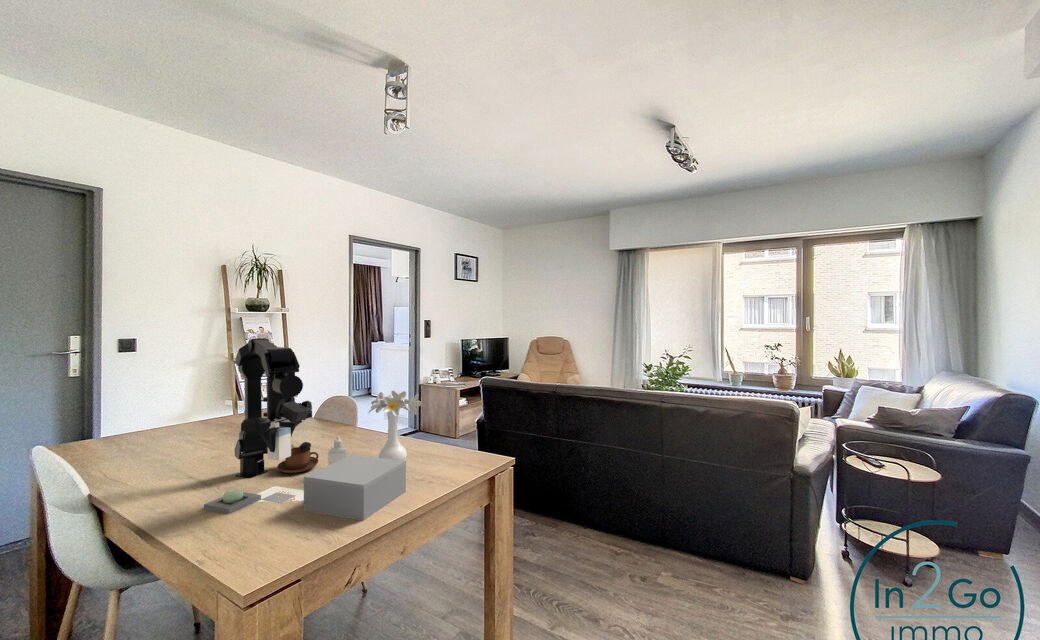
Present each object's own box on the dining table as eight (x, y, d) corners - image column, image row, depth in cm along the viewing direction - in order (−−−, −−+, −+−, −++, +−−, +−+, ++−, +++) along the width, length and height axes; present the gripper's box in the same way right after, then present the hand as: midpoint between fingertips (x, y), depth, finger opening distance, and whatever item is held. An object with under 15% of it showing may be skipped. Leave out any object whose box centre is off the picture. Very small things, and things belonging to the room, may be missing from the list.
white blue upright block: (267, 459, 117) (267, 430, 117) (279, 454, 120) (279, 426, 120) (279, 460, 115) (278, 430, 115) (291, 455, 119) (290, 427, 119)
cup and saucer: (315, 459, 148) (315, 442, 148) (320, 471, 138) (320, 452, 138) (276, 466, 142) (275, 448, 142) (278, 479, 132) (278, 459, 131)
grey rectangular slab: (303, 511, 110) (303, 476, 109) (352, 485, 127) (352, 454, 127) (363, 522, 104) (363, 485, 104) (405, 492, 121) (405, 461, 121)
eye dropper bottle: (338, 477, 133) (338, 439, 133) (326, 474, 136) (326, 436, 136) (349, 472, 137) (349, 435, 137) (338, 469, 140) (338, 433, 140)
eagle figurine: (284, 470, 139) (284, 443, 139) (287, 462, 146) (287, 437, 146) (310, 467, 142) (310, 441, 142) (312, 460, 149) (312, 434, 148)
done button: (219, 501, 112) (219, 495, 112) (234, 495, 116) (234, 489, 116) (231, 504, 110) (231, 497, 110) (247, 497, 115) (246, 491, 115)
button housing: (203, 510, 110) (203, 504, 110) (236, 496, 119) (236, 490, 119) (229, 515, 108) (229, 509, 108) (261, 500, 116) (261, 495, 116)
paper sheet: (236, 503, 114) (236, 502, 114) (274, 487, 126) (274, 485, 126) (283, 512, 109) (283, 510, 109) (318, 493, 121) (318, 492, 121)
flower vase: (426, 460, 150) (426, 389, 150) (384, 476, 134) (384, 397, 134) (401, 453, 157) (401, 385, 157) (358, 468, 141) (358, 393, 141)
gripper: (272, 400, 107) (273, 462, 107) (327, 389, 124) (327, 442, 124) (239, 398, 110) (239, 459, 110) (296, 388, 128) (297, 440, 128)
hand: (279, 449), depth 118 cm, fingers closed on white blue upright block, 4 cm apart
